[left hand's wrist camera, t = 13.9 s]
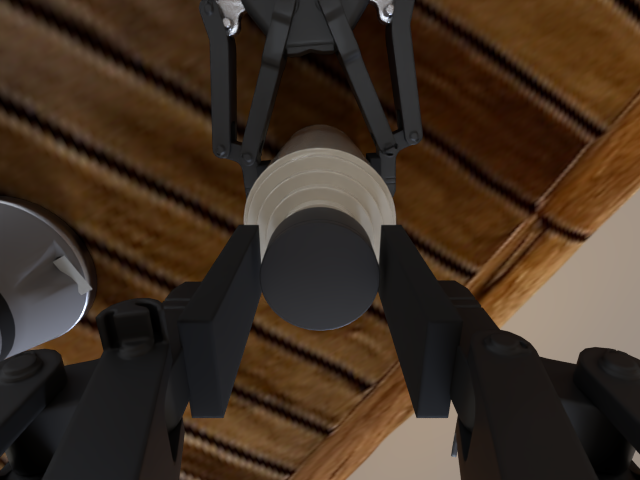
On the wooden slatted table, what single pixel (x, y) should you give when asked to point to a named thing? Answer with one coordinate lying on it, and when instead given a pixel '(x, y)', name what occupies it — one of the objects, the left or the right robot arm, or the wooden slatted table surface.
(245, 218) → the bottle
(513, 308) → the wooden slatted table surface
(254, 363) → the wooden slatted table surface
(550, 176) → the wooden slatted table surface
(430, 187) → the wooden slatted table surface
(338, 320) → the cap
